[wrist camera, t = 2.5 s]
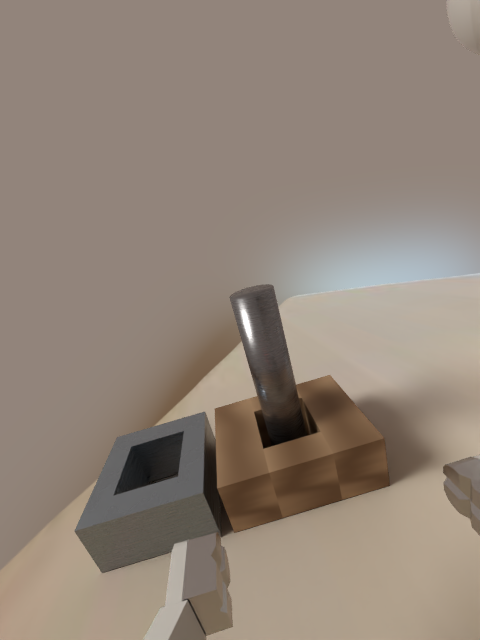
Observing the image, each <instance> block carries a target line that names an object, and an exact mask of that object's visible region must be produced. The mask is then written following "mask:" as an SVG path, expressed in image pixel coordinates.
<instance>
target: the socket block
mask: <svg viewBox="0 0 480 640" xmlns="http://www.w3.org/2000/svg"><path fill="white" fill-rule="evenodd" d="M175 474H178V477H174V478H171V479H168V480H164V481H161V482H158V483H154V484H151V485H148V484H149V482H151V481H155V480H158V479H161V478H165V477H168V476H171V475H175ZM216 532H218V533H219V535H220V537H221V514H220V494H219V492H218V489H217V464H216V440H215V437H214V435H213V432H212V429H211V426H210V424H209V421H208V418H207V415H206V413H205V412H202V413H199V414H195V415H192V416H188V417H185V418H182V419H178V420H175V421H171V422H168V423H164V424H161V425H158V426H154V427H151V428H147V429H144V430H141V431H137V432H134V433H130V434H127V435H124V436H120V437H117V439H116V441H115V443H114V445H113V448H112V450H111V452H110V454H109V456H108V459H107V461H106V463H105V465H104V467H103V470H102V472H101V474H100V476H99V478H98V481H97V483H96V485H95V487H94V489H93V492H92V494H91V496H90V498H89V500H88V503H87V505H86V507H85V509H84V511H83V514H82V516H81V518H80V520H79V522H78V524H77V527H76V529H75V533H76V534H77V536H78V537H79V539H80V540H81V542H82V543H83V545H84V546H85V548H86V549H87V551H88V552H89V554H90V555H91V557H92V558H93V560H94V561H95V563H96V564H97V566H98V568H99V569H100V571H101V572H102V573H103V572H107V571H110V570H113V569H116V568H120V567H123V566H126V565H130V564H133V563H136V562H139V561H143V560H146V559H149V558H153V557H156V556H159V555H162V554H166V553H169V552H172V549H173V546H174V544H176V543H179V542H183V541H186V540H190V539H194V538H197V537H201V536H205V535H208V534H212V533H216Z"/></svg>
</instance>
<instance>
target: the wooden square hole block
mask: <svg viewBox="0 0 480 640" xmlns="http://www.w3.org/2000/svg"><path fill="white" fill-rule="evenodd" d="M296 388H297V392H298V397H299V401H300V405H301V410H302V414H303V419H304V423H305V427H306V432H307V436H305V437H302V438H298V439H295V440H291V441H288V442H285V443H281V444H278V445H275V446H272V445H271V442H270V438H269V435H268V431H267V427H266V424H265V420H264V417H263V413H262V410H261V406H260V403H259V399H258V396H257V397H253V398H250V399H246V400H243V401H239V402H236V403H233V404H229V405H226V406H222V407H219V408H216V409H215V431H216V464H217V489H218V492H219V494H220V497H221V499H222V502H223V504H224V507H225V510H226V512H227V515H228V517H229V520H230V522H231V525H232V528H233V530H234V533H235V532H238V531H242V530H245V529H248V528H251V527H255V526H258V525H261V524H265V523H268V522H271V521H274V520H278V519H281V518H284V517H288V516H291V515H294V514H297V513H301V512H304V511H307V510H311V509H314V508H317V507H321V506H324V505H327V504H330V503H334V502H337V501H340V500H344V499H347V498H350V497H353V496H357V495H360V494H363V493H367V492H370V491H373V490H376V489H380V488H383V487H386V486H390V483H389V474H388V466H387V457H386V448H385V440H384V437H383V436H382V435H381V434H380V433H379V431H378V430H377V429H376V428H375V427H374V426H373V424H372V423H371V422H370V421H369V420H368V419H367V418H366V416H365V415H364V414H363V413H362V412H361V411H360V409H359V408H358V407H357V406H356V405H355V404H354V402H353V401H352V400H351V399H350V398H349V397H348V395H347V394H346V393H345V392H344V391H343V390H342V388H341V387H340V386H339V385H338V384H337V383H336V381H335V380H334V379H333V378H332V377H331V376H330V375H328V376H325V377H321V378H318V379H314V380H311V381H308V382H304V383H301V384H297V385H296Z"/></svg>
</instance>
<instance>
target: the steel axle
mask: <svg viewBox="0 0 480 640" xmlns="http://www.w3.org/2000/svg"><path fill="white" fill-rule="evenodd" d="M230 301H231V304H232V308H233V311H234V315H235V318H236V322H237V325H238V329H239V332H240V336H241V339H242V343H243V346H244V350H245V354H246V357H247V361H248V364H249V368H250V371H251V375H252V378H253V382H254V385H255V389H256V392H257V396H258V399H259V403H260V406H261V410H262V413H263V417H264V420H265V424H266V427H267V431H268V435H269V438H270V442H271V445H272V446H275V445H278V444H281V443H285V442H288V441H291V440H295V439H298V438H302V437H305V436H307V432H306V427H305V423H304V419H303V414H302V410H301V405H300V401H299V397H298V392H297V388H296V383H295V379H294V375H293V370H292V366H291V361H290V357H289V353H288V348H287V344H286V339H285V335H284V331H283V326H282V322H281V318H280V313H279V309H278V304H277V300H276V296H275V291H274V287H273V286H272V285H258V286H253V287H249V288H246V289H243V290H240V291H238V292H236V293H234V294H232V295H231V296H230Z"/></svg>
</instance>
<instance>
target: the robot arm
mask: <svg viewBox="0 0 480 640" xmlns="http://www.w3.org/2000/svg"><path fill="white" fill-rule="evenodd" d="M447 14H448V20H449V23H450V26H451V29H452V31H453V33H454V35H455V37H456V38H457V40H458V41H459V42H460V43H461V45H463V46H464V47H465V48H466V49H468V50H469V51H471V52H473V53H475V54H478V55H480V0H447ZM443 473H444V474H445V475H446V476H447V478H446V480H445V481H444V491H445V493H446V495H447V497H448V499H449V501H450V502H451V504H452V505H453V506H454V508H455V509H456V510H457V511H458V512H459V513H460V514H462V515H464V516H466V517H468V518H470V521H471V525H472V528H473V529H474V530H475V531H476V532H477V533H478V534H479V535H480V455H477V456H473V457H468V458H465V459H462V460H459V461H456V462H452V463H449V464H446V465H445V466H444V467H443ZM229 584H230V569H229V563H228V557H227V553H226V550H225V548H224V547H223V546H221V538H220V535H219V533H218V532H216V533H212V534H208V535H205V536H201V537H197V538H194V539H190V540H186V541H183V542H179V543H176V544H174V546H173V549H172V555H171V563H170V571H169V579H168V587H167V594H166V602H165V606H164V607H161V608H160V609H159V611H158V613H157V615H156V617H155V619H154V621H153V622H152V624H151V626H150V628H149V630H148V632H147V633H146V635H145V637H144V639H143V640H206V636H207V635H210V634H213V633H216V632H219V631H222V630H225V629H228V628H231V627H233V620H232V601H231V597H230V594H229V592H228V589H227V588H228V586H229Z"/></svg>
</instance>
